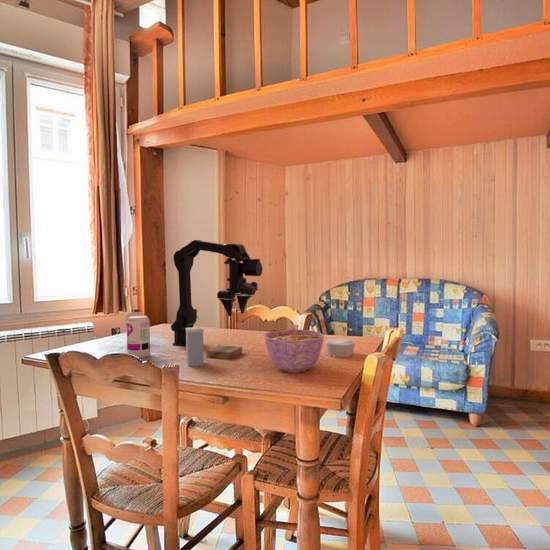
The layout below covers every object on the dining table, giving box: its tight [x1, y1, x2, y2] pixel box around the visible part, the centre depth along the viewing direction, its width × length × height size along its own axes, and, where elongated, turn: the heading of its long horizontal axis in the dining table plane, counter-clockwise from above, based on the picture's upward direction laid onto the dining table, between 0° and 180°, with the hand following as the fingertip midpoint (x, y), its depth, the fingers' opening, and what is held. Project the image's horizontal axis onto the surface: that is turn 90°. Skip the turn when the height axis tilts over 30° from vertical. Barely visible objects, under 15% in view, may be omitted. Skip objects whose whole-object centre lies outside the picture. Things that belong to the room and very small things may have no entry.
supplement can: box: [126, 314, 151, 359], centre depth 169 cm, size 8×8×15 cm
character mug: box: [124, 311, 143, 330], centre depth 192 cm, size 11×7×13 cm, turn 43°
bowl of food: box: [263, 329, 325, 373], centre depth 149 cm, size 20×20×12 cm
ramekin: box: [324, 338, 356, 358], centre depth 169 cm, size 11×11×5 cm
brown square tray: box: [205, 344, 243, 360], centre depth 170 cm, size 10×10×3 cm
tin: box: [185, 326, 205, 367], centre depth 157 cm, size 5×5×12 cm
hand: (236, 314), depth 179 cm, fingers open, 9 cm apart
